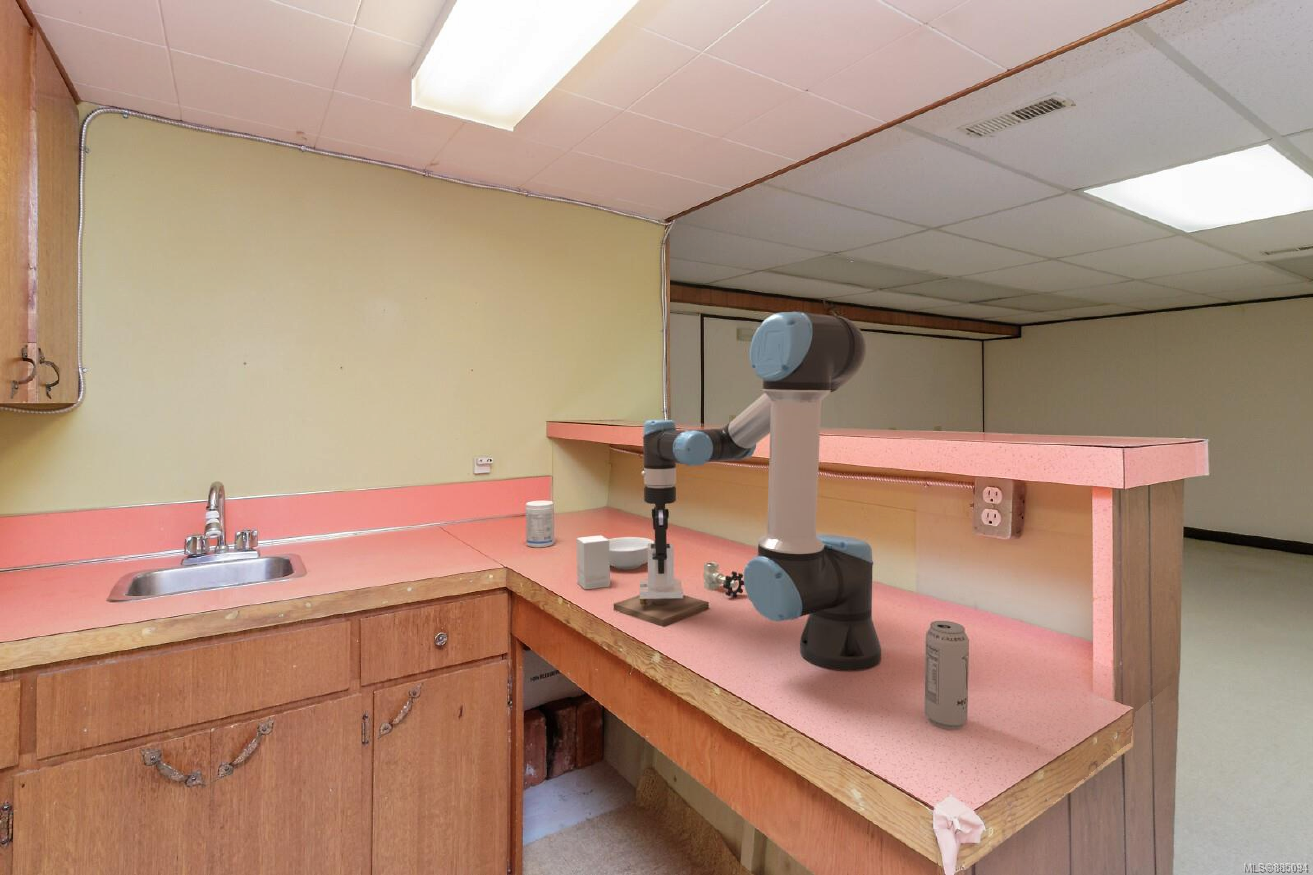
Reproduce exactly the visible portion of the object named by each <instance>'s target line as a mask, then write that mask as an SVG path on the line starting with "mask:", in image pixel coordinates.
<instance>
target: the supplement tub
mask: <svg viewBox="0 0 1313 875" xmlns="http://www.w3.org/2000/svg"><path fill="white" fill-rule="evenodd" d="M525 525H526V526H525V529H526V530H525V532H526V533H525V534H526V545H527V546H528V547H530V548H539V549H540V548H548V547H551V546H553V545H554V544H555V507H554V502H553V501H551V500H533V501H532V500H531V501H528V502H526V503H525Z"/></svg>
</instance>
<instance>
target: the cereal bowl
mask: <svg viewBox="0 0 1313 875" xmlns="http://www.w3.org/2000/svg"><path fill="white" fill-rule="evenodd" d="M607 539H608V538H607ZM608 540H609V553H610V567H614V568H615V569H618V570H625V571H626V570H634V569H637V568H640V567H641V566H642V565H644V564H646V563H648V543H655V541H653V539H650V538H647V537H637V536H625V537H624V536H623V537H621V536H620V537H615V538H609V539H608Z"/></svg>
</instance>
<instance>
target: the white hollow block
mask: <svg viewBox="0 0 1313 875" xmlns="http://www.w3.org/2000/svg"><path fill="white" fill-rule="evenodd" d="M674 548H675V547H674V544H673V542H667V587H655V560H653V557H655V555H656V543H655V542H654V543H648V562H647V579H639V595H640V599H658V598H683V595H684V590H683V589H684V588H683V585H682V581H681V580H682V579H681V578H675V576H674V574H675V565H674V564H675V562H674V561H675V560H674V557H675V556H674V554H675V553H674ZM659 554H664V553H659Z"/></svg>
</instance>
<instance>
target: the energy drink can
mask: <svg viewBox="0 0 1313 875" xmlns="http://www.w3.org/2000/svg"><path fill="white" fill-rule="evenodd" d="M965 630H966V628H965V627H964V626H963V625H962V624H960V623H957V622H955V621H950V620H934V621H932V622H930V625H929V628H928V630H927V631H926V633H925V657H924V658H925V662H924V664H925V666H924V667H925V668H924V669H925V670H924V674H925V675H924V714H925V716H926V717H927V719H928V721H929V722H930V723H931V724H932V725H934V726H936V727H938V728H941V729H945V730H960V729H962V727H964V724H965V723H967V722H968V711H969V710H968V705H969V703H968V702H969V698H968V697H969V662H970V661H969V655H970V654H969V653H970V639H969V637H968V635H967V634H966V632H965Z"/></svg>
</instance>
